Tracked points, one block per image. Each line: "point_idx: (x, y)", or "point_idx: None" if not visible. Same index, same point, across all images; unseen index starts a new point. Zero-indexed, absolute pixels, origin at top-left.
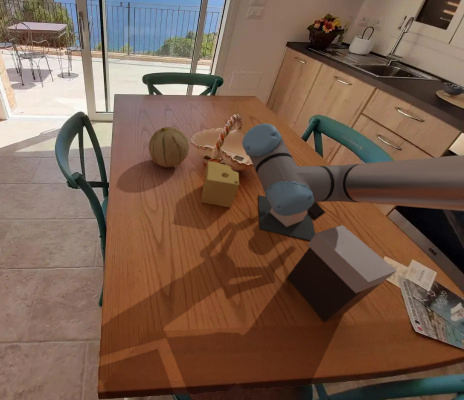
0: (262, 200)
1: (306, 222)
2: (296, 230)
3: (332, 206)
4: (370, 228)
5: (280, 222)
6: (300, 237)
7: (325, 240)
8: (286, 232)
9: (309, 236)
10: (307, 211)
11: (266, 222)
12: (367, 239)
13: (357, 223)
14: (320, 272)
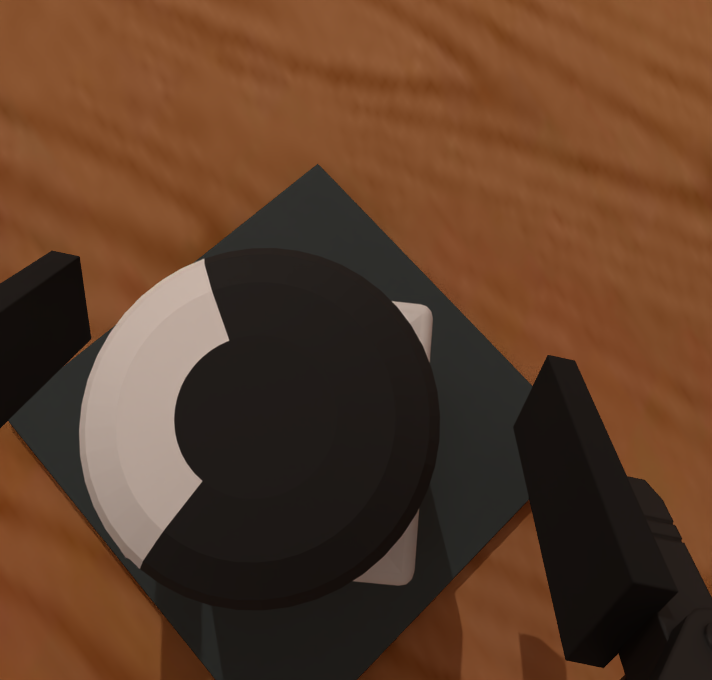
0: (69, 442)
1: None
2: (442, 485)
3: (407, 26)
4: (644, 17)
5: None
6: (502, 520)
7: None
8: (418, 578)
9: None
10: (574, 657)
11: (261, 643)
12: (695, 120)
13: (583, 41)
14: None
